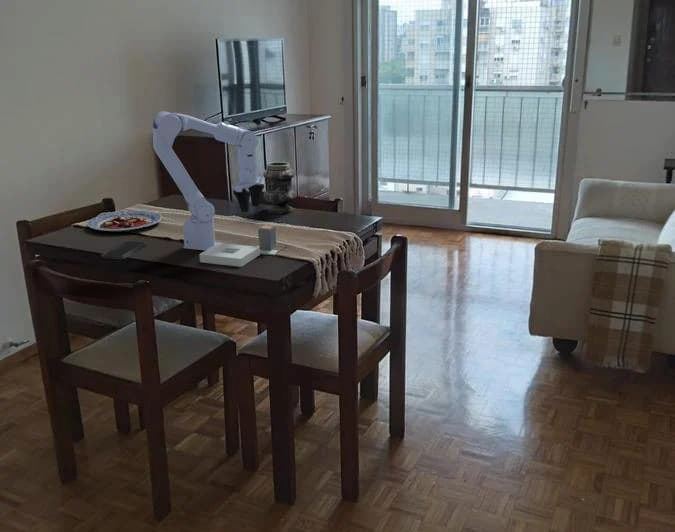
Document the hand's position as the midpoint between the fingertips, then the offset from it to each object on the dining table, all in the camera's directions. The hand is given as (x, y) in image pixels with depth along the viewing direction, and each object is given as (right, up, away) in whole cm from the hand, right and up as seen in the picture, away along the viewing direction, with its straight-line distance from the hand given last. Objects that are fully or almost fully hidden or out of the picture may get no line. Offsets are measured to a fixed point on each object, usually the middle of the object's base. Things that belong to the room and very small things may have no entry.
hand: (250, 208), depth 228 cm
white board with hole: (-4, -16, -15) cm, 23 cm away
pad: (+6, -13, -8) cm, 17 cm away
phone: (-39, -14, -6) cm, 42 cm away
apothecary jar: (+7, +3, +40) cm, 40 cm away
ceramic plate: (-48, -4, +23) cm, 53 cm away
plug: (+7, -13, -8) cm, 16 cm away
